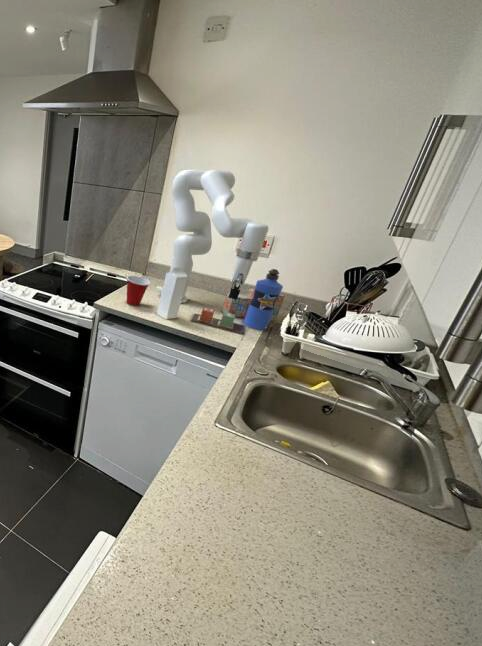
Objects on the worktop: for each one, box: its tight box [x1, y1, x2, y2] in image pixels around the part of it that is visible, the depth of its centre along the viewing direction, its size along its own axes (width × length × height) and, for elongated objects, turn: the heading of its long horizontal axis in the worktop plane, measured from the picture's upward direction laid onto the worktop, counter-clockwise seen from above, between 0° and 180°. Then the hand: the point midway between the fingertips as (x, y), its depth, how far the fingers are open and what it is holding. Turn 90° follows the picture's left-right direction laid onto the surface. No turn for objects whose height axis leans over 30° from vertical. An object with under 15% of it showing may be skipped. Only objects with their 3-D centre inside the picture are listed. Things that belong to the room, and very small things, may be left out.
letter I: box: [220, 312, 236, 328], centre depth 164 cm, size 4×4×5 cm
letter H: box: [200, 307, 215, 323], centre depth 168 cm, size 4×4×5 cm
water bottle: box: [242, 268, 284, 331], centre depth 163 cm, size 9×9×25 cm
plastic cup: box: [126, 275, 152, 307], centre depth 179 cm, size 11×11×12 cm
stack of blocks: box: [221, 288, 285, 322], centre depth 176 cm, size 21×6×12 cm, turn 84°
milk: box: [156, 267, 187, 320], centre depth 166 cm, size 6×6×22 cm
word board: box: [190, 313, 245, 335], centre depth 167 cm, size 20×10×1 cm, turn 59°
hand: (233, 295), depth 161 cm, fingers open, 9 cm apart
